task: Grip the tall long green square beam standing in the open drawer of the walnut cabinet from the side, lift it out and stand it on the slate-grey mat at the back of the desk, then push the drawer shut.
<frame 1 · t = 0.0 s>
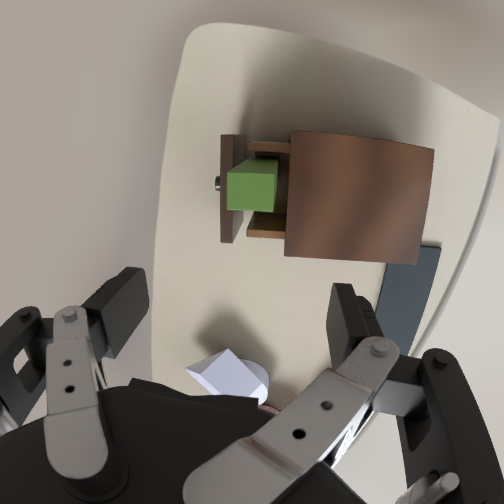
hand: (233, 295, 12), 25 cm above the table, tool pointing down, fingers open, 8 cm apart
mat: (398, 314, 40), on the table
long green square beam: (265, 166, 33), point 2 cm above the table, touching drawer
drawer: (282, 185, 30), point 5 cm above the table, slide at 5.0 cm, touching long green square beam
wedge on round base: (235, 369, 47), on the table
cabinet: (343, 183, 34), on the table
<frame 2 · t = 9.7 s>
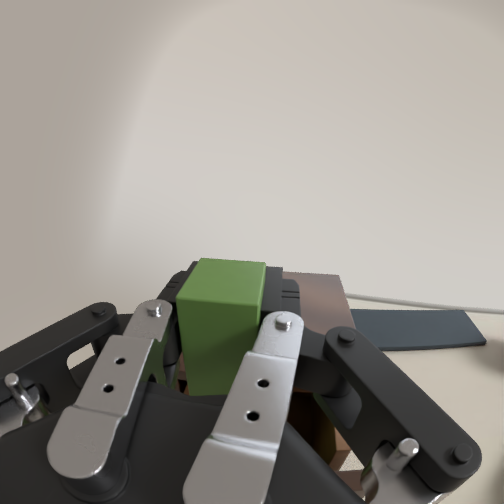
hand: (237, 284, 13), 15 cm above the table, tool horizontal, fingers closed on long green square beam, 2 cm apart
mat: (411, 330, 34), on the table
long green square beam: (232, 474, 16), point 2 cm above the table, touching drawer, gripper
drawer: (261, 435, 16), point 5 cm above the table, slide at 5.0 cm, touching long green square beam
cabinet: (265, 398, 25), on the table
when the fingers open (14 cm above the table, at t = 19.8 s): long green square beam stays where it is, resting on mat.
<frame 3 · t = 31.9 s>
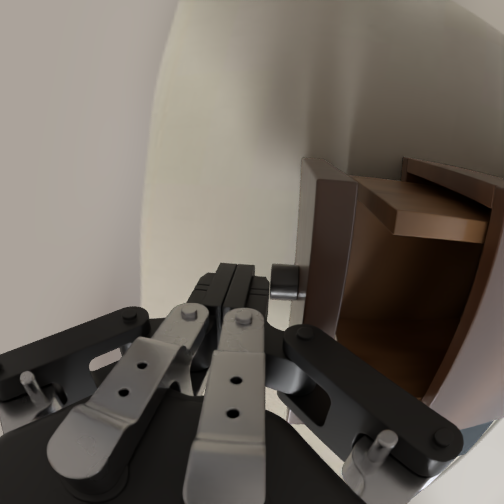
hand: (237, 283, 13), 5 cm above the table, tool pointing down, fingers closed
mat: (482, 407, 22), on the table
drawer: (412, 287, 13), point 5 cm above the table, slide at 4.8 cm, touching gripper
cabinet: (472, 256, 17), on the table
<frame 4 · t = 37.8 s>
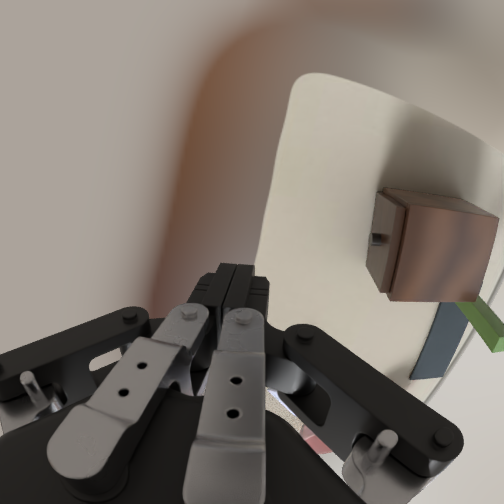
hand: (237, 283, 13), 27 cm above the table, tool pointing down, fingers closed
mat: (445, 333, 44), on the table
long green square beam: (458, 289, 40), point 1 cm above the table, touching mat
drawer: (418, 243, 34), point 5 cm above the table, slide at 0.0 cm
mug: (326, 422, 55), on the table
cabinet: (419, 232, 38), on the table
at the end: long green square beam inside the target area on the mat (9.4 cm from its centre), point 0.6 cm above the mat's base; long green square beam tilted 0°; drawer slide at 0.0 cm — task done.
